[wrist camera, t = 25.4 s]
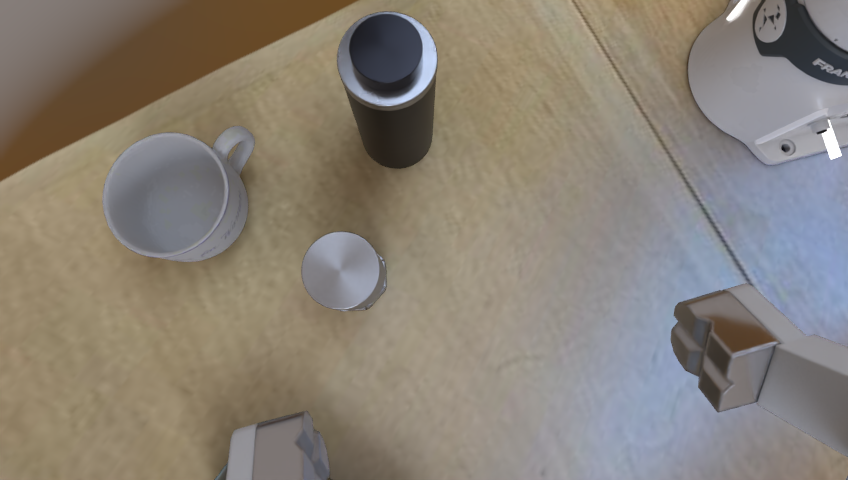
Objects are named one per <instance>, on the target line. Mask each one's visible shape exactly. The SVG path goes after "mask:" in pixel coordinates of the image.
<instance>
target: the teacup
mask: <svg viewBox="0 0 848 480" xmlns="http://www.w3.org/2000/svg"><path fill="white" fill-rule="evenodd" d="M237 143H239V144H238V146H237V148H236V150H235V151H234V153H233V154H232V156H231V157H230V159H229V160H228V154H229V152H230V150H231V149H232V148H233V146H235V145H236V144H237ZM254 145H255V139H254V136H253V135H252V133H251V132H250V131H249V130H247V129H246V128H244V127H242V126H233V127H231V128H228V129H227V130H225V131H224V132H223V133H222V134H221V135H220V136H219V137H218V138H217V140H216V141H215V143H214V145H213V148H210V147H209V146H208V145H207V144H205V143H204V142H202V141H200V140H198V139H196V138H194V137H192V136H189V135H186V134H181V133H172V132H167V133H159V134H154V135H151V136H148V137H146V138H144V139H142V140H140V141H137V142H135V143H134V144H133V145H131V146H130V147H129V148H127V149H126V150H125V151H124V152H123V153H122V154H121V155H120V156H119V157H118V158H117V160H116V161H115V163H114V164H113V166H112V167H111V169H110V171H109V173H108V176H107V178H106V181H105V184H104V189H103V209H104V214H105V217H106V220H107V223H108V226H109V227H110V229H111V231H112V233H113V234H114V236H115V237H116V238H117V239H118V240H119V241H120V242H121V243H122V244H123V245H124V246H126V247H127V248H128V249H130V250H131V251H134V252H136V253H138V254H141V255H144V256H148V257H155V258H163V259H167V260H173V261H180V262H195V261H201V260H205V259H209V258H211V257H214V256H216V255H218V254H220V253H221V252H223V251H224V250H226V249H227V248H228V247H229V246H230V245H232V243H233V242H234V241H235V240H236V239H237V238H238V236H239V235H240V233H241V231H242V230H243V227H244V225H245V222H246V219H247V214H248V197H247V192H246V189H245V186H244V184H243V182H242V180H241V178H240V177H239V175H240V174H241V172H242V168H243V166H244V165H245V163H246V162H247V160H248V158H249V157H250V155H251V153H252V151H253V149H254Z"/></svg>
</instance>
